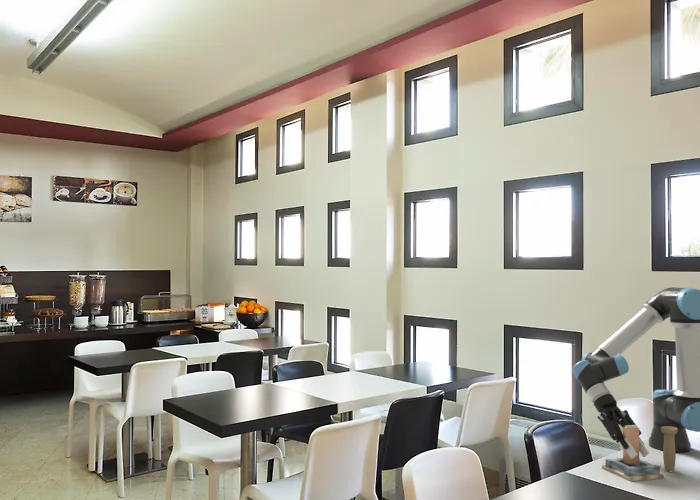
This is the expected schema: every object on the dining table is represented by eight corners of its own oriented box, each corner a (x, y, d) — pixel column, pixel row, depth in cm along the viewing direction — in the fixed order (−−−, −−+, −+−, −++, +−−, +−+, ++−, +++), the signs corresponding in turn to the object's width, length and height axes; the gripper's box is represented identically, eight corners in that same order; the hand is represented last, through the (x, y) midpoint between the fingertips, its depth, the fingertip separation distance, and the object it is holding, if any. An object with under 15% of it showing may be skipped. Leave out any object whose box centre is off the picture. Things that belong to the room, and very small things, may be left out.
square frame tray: (634, 465, 221) (634, 455, 221) (664, 477, 208) (664, 467, 208) (601, 468, 217) (601, 458, 217) (630, 481, 204) (629, 470, 204)
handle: (680, 470, 216) (680, 428, 216) (672, 474, 212) (672, 430, 212) (666, 467, 220) (666, 425, 220) (658, 470, 216) (658, 427, 216)
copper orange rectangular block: (631, 459, 216) (632, 423, 216) (642, 464, 211) (642, 426, 211) (619, 460, 214) (619, 424, 215) (630, 465, 209) (630, 427, 210)
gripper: (613, 402, 231) (651, 458, 216) (578, 406, 223) (615, 464, 208) (625, 391, 227) (665, 447, 211) (589, 394, 219) (628, 453, 203)
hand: (640, 455), depth 209 cm, fingers closed on copper orange rectangular block, 5 cm apart
